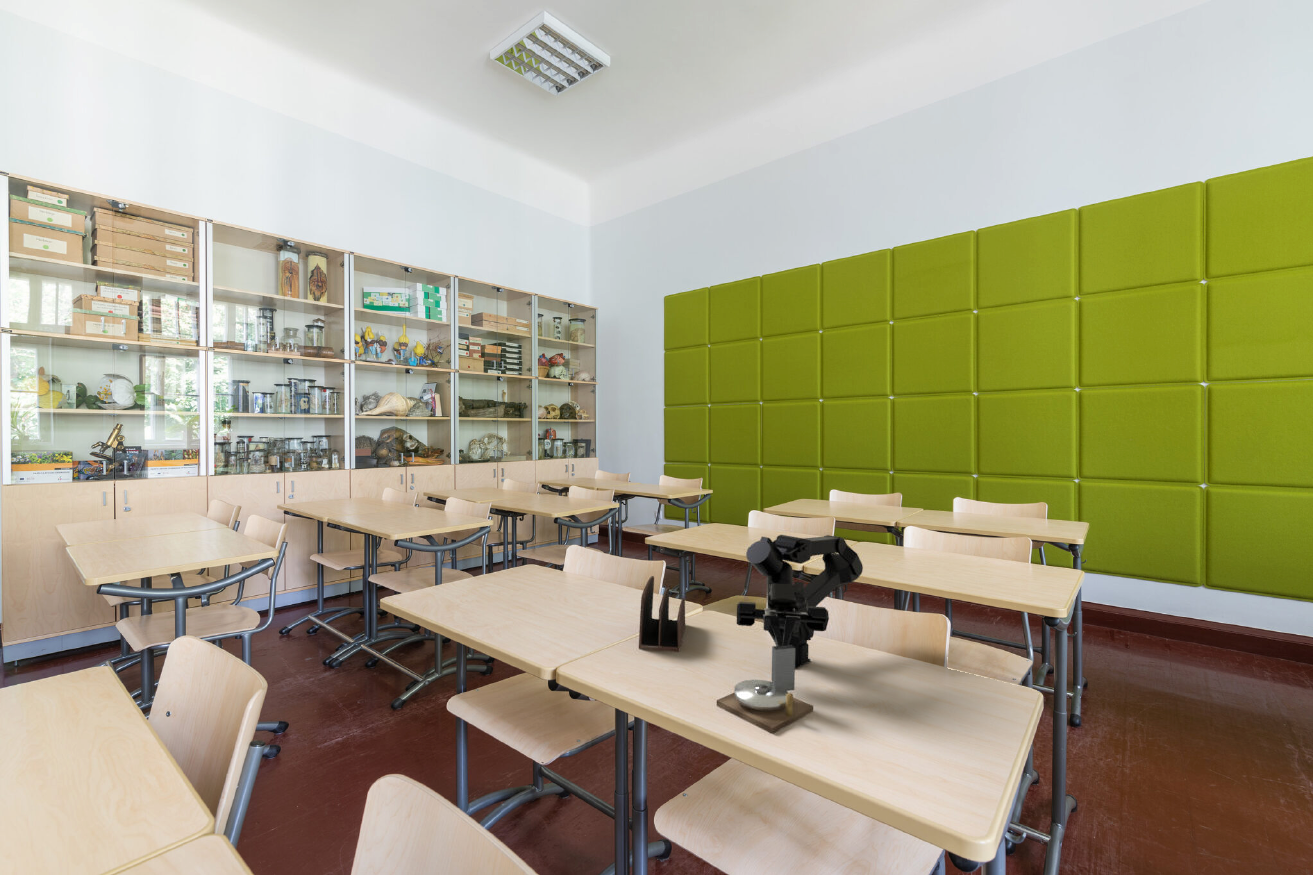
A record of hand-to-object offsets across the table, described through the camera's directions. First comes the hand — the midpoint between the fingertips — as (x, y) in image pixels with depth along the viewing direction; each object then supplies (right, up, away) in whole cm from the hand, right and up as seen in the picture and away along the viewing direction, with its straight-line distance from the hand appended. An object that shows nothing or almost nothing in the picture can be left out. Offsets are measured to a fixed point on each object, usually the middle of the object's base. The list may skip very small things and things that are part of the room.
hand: (782, 655), depth 110 cm
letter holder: (-24, -8, +31) cm, 40 cm away
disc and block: (-5, -5, -6) cm, 10 cm away
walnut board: (-5, -7, -6) cm, 11 cm away
